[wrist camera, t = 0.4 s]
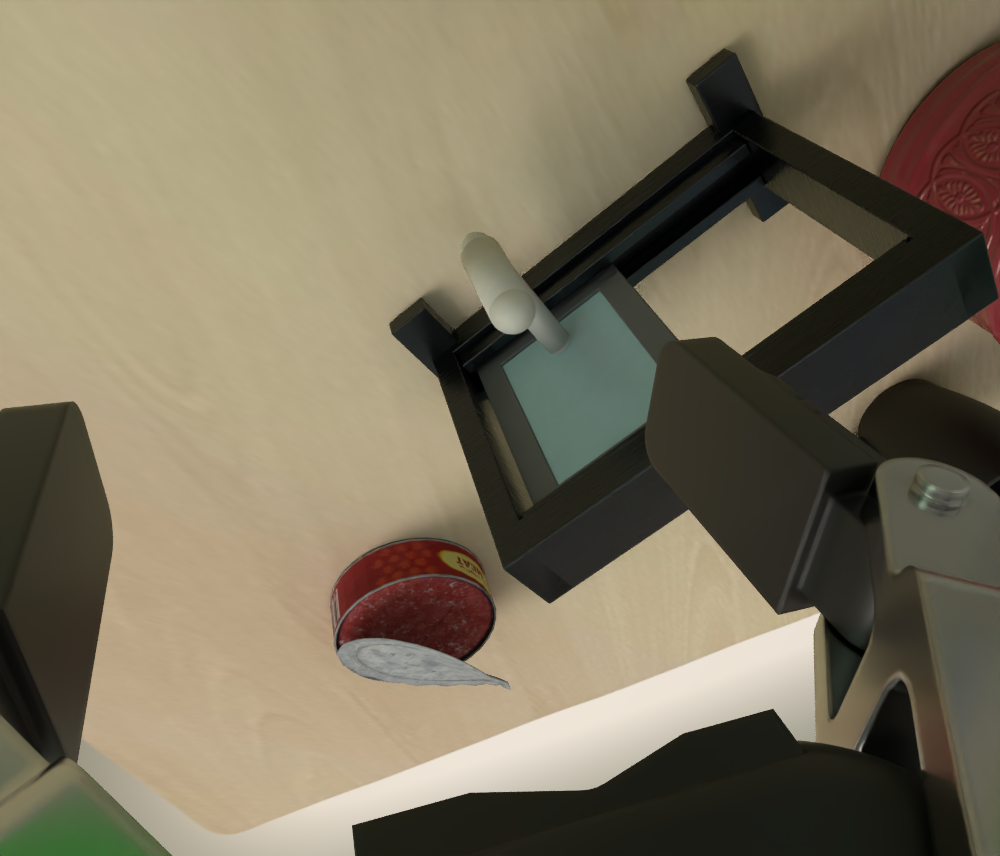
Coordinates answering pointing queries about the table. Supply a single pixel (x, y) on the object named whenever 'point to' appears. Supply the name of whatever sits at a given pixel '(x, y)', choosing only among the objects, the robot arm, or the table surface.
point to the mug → (935, 429)
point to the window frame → (785, 354)
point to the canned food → (414, 614)
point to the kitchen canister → (958, 156)
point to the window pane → (564, 366)
